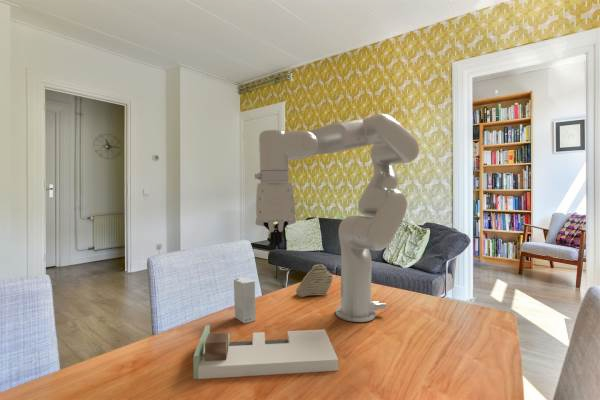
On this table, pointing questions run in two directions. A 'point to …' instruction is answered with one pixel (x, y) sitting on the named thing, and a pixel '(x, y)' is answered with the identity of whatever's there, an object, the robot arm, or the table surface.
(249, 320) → the skincare box
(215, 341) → the walnut block
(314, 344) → the board
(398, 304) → the table surface
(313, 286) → the fossil tooth
